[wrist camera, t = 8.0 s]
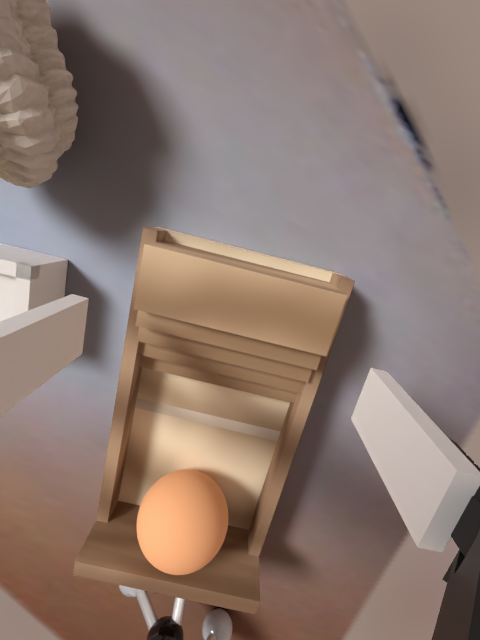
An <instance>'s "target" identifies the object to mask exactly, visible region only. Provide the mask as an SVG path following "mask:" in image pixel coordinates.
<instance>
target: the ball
mask: <svg viewBox="0 0 480 640" xmlns="http://www.w3.org/2000/svg"><path fill="white" fill-rule="evenodd" d="M227 528H228V507H227V503H226V500H225V497H224V494H223V492H222V491H221V489H220V487H219V486H218V485H217V483H216V482H215V481H214V480H213V479H212V478H210V477H209V476H208V475H206V474H204V473H202V472H199V471H196V470H190V469H183V470H177V471H173V472H171V473H169V474H167V475H165V476H163V477H161V478H160V479H159V480H158V481H156V482H155V483H154V484H153V485H152V487H151V488H150V489H149V490H148V492H147V493H146V495H145V497H144V498H143V500H142V503H141V505H140V508H139V512H138V516H137V538H138V542H139V545H140V548H141V550H142V552H143V554H144V556H145V557H146V559H147V560H148V561H149V562H150V563H151V564H152V565H153V566H154V567H155V568H157V569H158V570H160V571H162V572H164V573H167V574H171V575H185V574H190V573H193V572H196V571H198V570H200V569H201V568H203V567H204V566H206V565H207V564H208V563H209V562H210V561H211V560H212V559H213V558H214V557H215V556H216V554H217V553H218V551H219V550H220V548H221V546H222V544H223V542H224V539H225V536H226V533H227Z"/></svg>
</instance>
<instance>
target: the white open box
mask: <svg viewBox="0 0 480 640" xmlns="http://www.w3.org/2000/svg"><path fill="white" fill-rule="evenodd" d="M67 265H68V260H67V259H63V258H59V257H55V256H51V255H47V254H43V253H39V252H35V251H31V250H27V249H23V248H19V247H15V246H11V245H7V244H3V243H0V321H3V320H5V319H8V318H10V317H13V316H16V315H18V314H21V313H24V312H26V311H29V310H31V309H34V308H37V307H39V306H42V305H45V304H47V303H50V302H52V301H55V300H58V299H60V298H63V297H64V295H65V285H66V275H67Z"/></svg>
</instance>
